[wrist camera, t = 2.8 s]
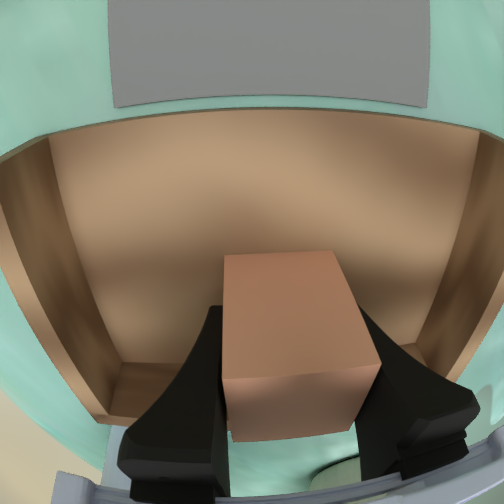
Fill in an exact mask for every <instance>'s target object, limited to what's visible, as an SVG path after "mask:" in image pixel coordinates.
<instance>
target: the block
mask: <svg viewBox="0 0 504 504" xmlns="http://www.w3.org/2000/svg"><path fill="white" fill-rule="evenodd" d="M381 364H382V363H381V361H380V358H379V356H378V353H377V351H376V348H375V346H374V343H373V341H372V338H371V336H370V334H369V331H368V329H367V326H366V324H365V322H364V319H363V317H362V315H361V312H360V310H359V308H358V305H357V303H356V301H355V299H354V296H353V294H352V292H351V290H350V287H349V285H348V283H347V281H346V279H345V276H344V274H343V272H342V270H341V268H340V265H339V263H338V261H337V259H336V257H335V255H334V253H333V251H332V250H330V251H308V252H286V253H264V254H242V255H224V290H223V340H222V382H223V388H224V394H225V400H226V406H227V412H228V417H229V423H230V428H231V434H232V439H233V442H253V441H269V440H281V439H291V438H301V437H309V436H317V435H324V434H330V433H337V432H343V431H348V430H349V429H350V427H351V426H352V424H353V422H354V420H355V418H356V416H357V414H358V412H359V410H360V408H361V406H362V404H363V402H364V400H365V398H366V396H367V394H368V392H369V390H370V388H371V386H372V384H373V382H374V379H375V377H376V375H377V373H378V371H379V368H380V366H381Z"/></svg>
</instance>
